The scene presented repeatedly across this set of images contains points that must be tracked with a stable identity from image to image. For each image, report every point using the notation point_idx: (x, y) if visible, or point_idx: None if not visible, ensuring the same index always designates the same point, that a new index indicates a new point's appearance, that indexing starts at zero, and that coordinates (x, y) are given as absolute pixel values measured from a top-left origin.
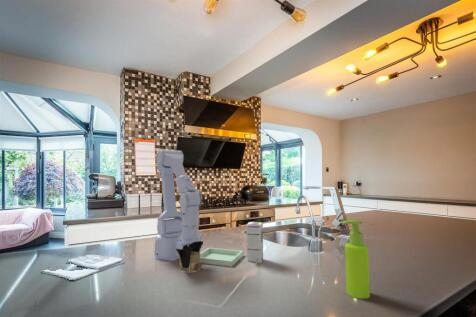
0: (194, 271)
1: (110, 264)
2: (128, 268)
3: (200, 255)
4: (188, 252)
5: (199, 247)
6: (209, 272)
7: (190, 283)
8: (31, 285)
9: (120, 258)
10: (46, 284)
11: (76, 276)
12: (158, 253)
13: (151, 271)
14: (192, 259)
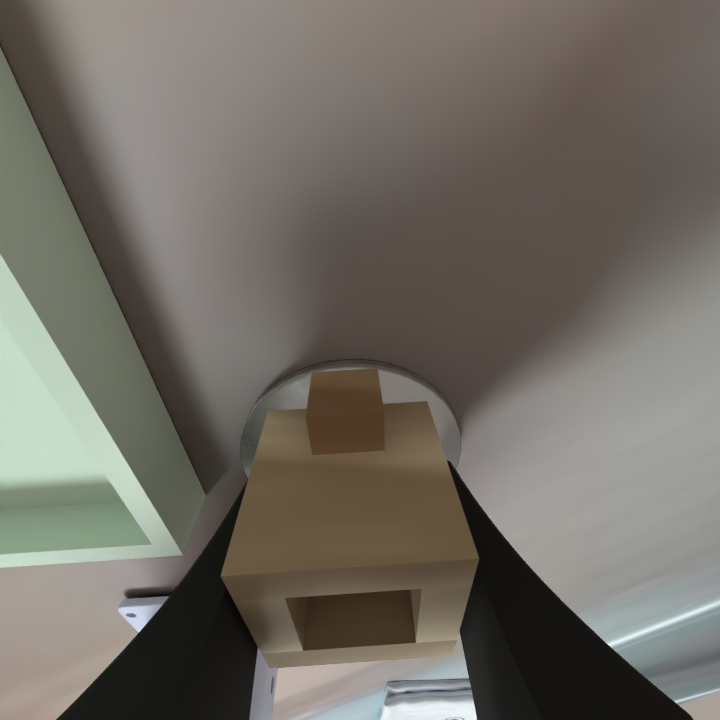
0: (416, 389)
1: (457, 698)
2: None
3: (53, 533)
4: (644, 681)
5: (183, 688)
6: (327, 247)
7: (675, 283)
8: None
9: (387, 712)
10: None
11: None
12: (270, 689)
13: None
14: (462, 516)
